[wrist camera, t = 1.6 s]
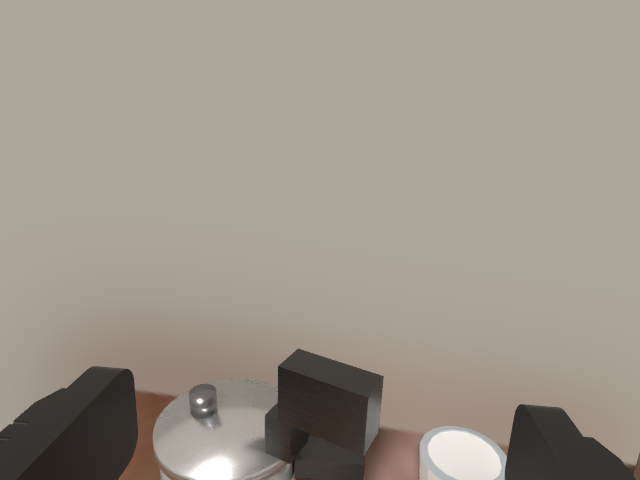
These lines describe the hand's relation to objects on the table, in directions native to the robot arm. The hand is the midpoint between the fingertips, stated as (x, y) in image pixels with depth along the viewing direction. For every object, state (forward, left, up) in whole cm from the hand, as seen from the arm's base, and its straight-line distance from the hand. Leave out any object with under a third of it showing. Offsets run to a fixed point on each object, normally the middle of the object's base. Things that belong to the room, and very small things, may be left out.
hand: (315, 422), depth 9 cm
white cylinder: (-11, -21, -26) cm, 36 cm away
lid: (+5, -18, -17) cm, 25 cm away
